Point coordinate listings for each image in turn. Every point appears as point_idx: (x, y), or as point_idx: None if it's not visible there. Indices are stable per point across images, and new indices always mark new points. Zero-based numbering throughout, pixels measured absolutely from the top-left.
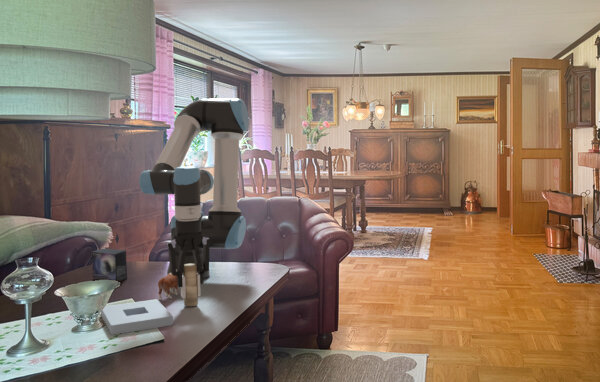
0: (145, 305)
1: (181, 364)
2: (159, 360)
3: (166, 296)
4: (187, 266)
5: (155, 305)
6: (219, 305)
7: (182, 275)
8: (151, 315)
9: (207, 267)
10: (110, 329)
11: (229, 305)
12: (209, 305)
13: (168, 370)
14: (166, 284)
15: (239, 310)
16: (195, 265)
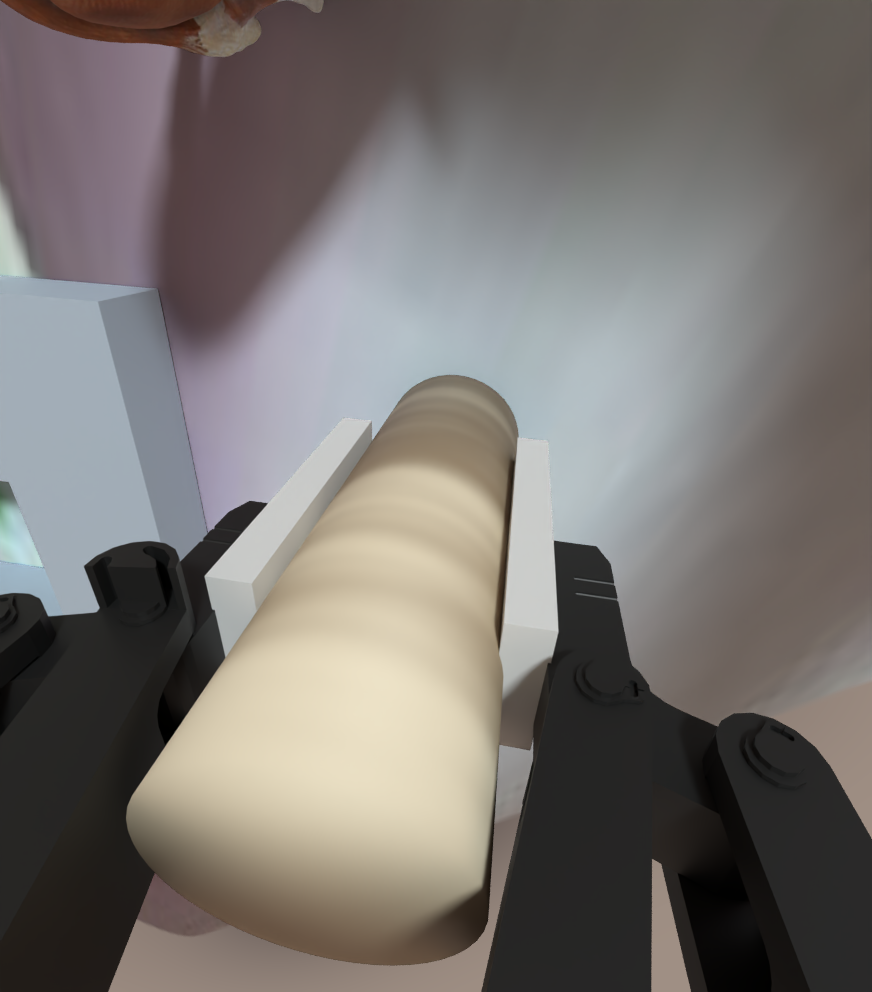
0: (12, 451)
1: (223, 923)
2: (162, 882)
3: (247, 42)
4: (230, 907)
5: (97, 500)
6: (676, 553)
7: (240, 626)
8: None
9: (729, 914)
10: None
11: (743, 598)
12: (604, 507)
13: (185, 924)
14: (131, 25)
15: (713, 716)
16: (426, 954)
